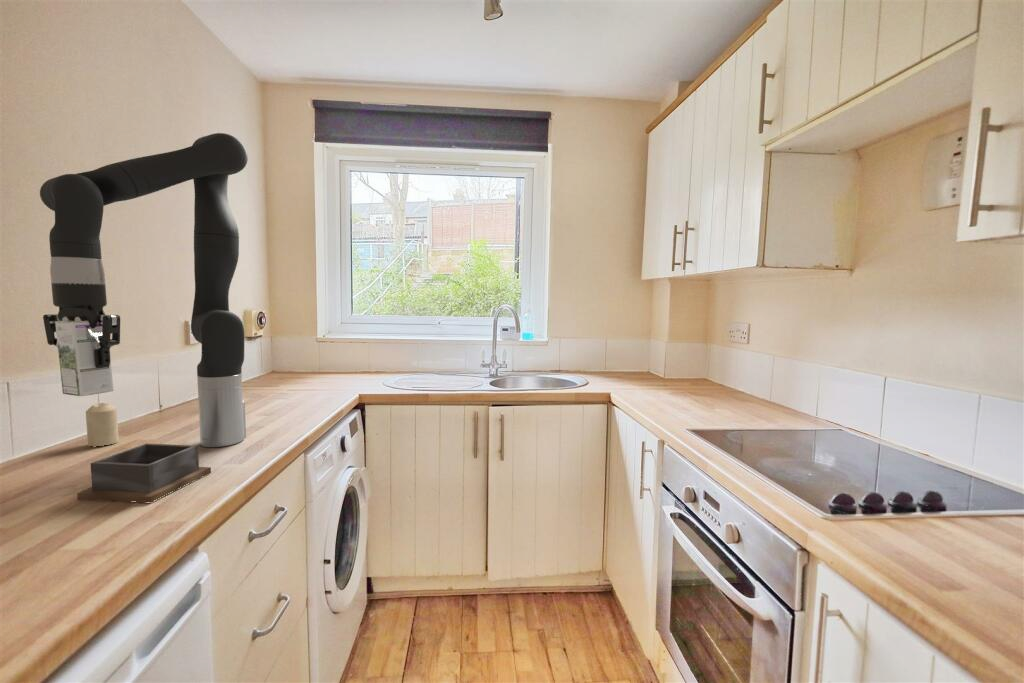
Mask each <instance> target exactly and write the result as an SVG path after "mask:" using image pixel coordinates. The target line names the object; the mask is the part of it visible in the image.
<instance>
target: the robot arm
mask: <svg viewBox="0 0 1024 683" xmlns="http://www.w3.org/2000/svg"><path fill="white" fill-rule="evenodd" d="M248 158H249V156H248V152H247V149H246V147H245V146H244V144H243V143H242V141H240V140H239V139H238V138H237V137H235V136H233V135H231V134H229V133H224V132H223V133H222V132H217V133H211V134H208V135H203V136H201V137H199V138H197V139H195V141H194V142H193V143H192V145H190V146H187V147H184V148H181V149H177V150H172V151H168V152H161V153H156V154H151V155H146V156H145V155H144V156H141V157H140V156H139V157H135V158H131V159H126V160H122V161H118V162H114V163H110V164H106V165H103V166H101V167H98V168H95V169H93V170H88V171H82V172H77V173H65V174H62V175H58V176H55V177H52V178H50V179H48V180H46V181H45V182H44V183H43V184H42V185H41V186H40V190H39V196H40V199H41V201H42V202H43V204H44V205H45V206H46V207H47V208H48V209H49V210H51V211H53V212H54V225H53V227H52V228H51V229H50V231H49V236H48V239H49V251H50V266H49V267H50V268H49V270H50V272H49V273H50V284H51V294H52V297H51V298H52V305H53V306H54V307H58V313H54V314H53V313H51V314H44V315H42V320H43V325H44V326H43V327H44V330H45V331H44V332H45V337H46V341H47V344H48V345H49V346H55V347H56V348H57V349H58V344H57V337H56V336H55V335H56V334H55V333H56V324H55V322H56V321H61V322H68V321H88V322H89V325H90V327H91V328H92V329H94V328H95V327H96V326H97V322H99V324H100V326H101V325H102V332H101V333H93V332H92V331H91V329H90V328H89V327H88V326H86V332H87V333H86V337H87V339H89V340H90V341H91V342H92V344H93V346H94V348H95V349H94V357H95V367H96V368H105V367H109V365H110V362H111V363H112V359H111V348H112V347H113V346H118V345H120V343H121V316H120V315H119V314H106V313H105V311H104V307H107V305H108V301H107V290H106V287H107V286H106V275H105V269H104V268H105V267H104V265H103V260H102V249H101V240H100V239H101V238H100V236H101V230H102V223H103V216H104V206H107V205H110V204H114V203H118V202H123V201H124V202H125V201H128V200H129V201H130V200H133V199H137V198H141V197H143V196H147V195H150V194H153V193H157V192H160V191H162V190H165V189H168V188H170V187H173V186H176V185H179V184H182V183H185V182H188V181H191V180H192V181H193V188H194V210H193V211H194V213H193V214H194V216H193V217H194V218H193V219H194V224H193V225H194V226H193V228H194V229H193V254H194V255H193V257H194V258H193V260H194V261H193V262H194V263H193V264H194V266H193V267H194V269H193V270H194V273H193V274H194V300H193V304H192V305H193V307H192V314H191V319H190V320H191V321H190V331H191V334H192V336H193V338H194V339H195V340H196V341H197V342H198V343H199V344H201V358H200V362H199V363H198V364H197V367H196V377H197V394H198V396H197V399H198V401H197V402H198V421H199V441H200V442H199V443H200V446H201V447H204V448H205V447H206V448H220V447H227V446H232V445H234V444H235V445H236V444H239V443H241V442H242V441H244V439H245V438H246V437H247V428H246V427H247V426H246V425H247V424H246V420H247V419H246V402H245V401H244V400H243V377H242V376H243V374H242V368H243V364H244V361H245V327H244V324H243V321H242V320H241V318H240V317H239V316H238V315H237V314H236V313H234V312H231V311H230V307H229V306H230V305H229V294H230V293H229V292H230V287H231V284H232V281H233V278H234V275H235V271H236V269H237V267H238V262H239V255H240V254H239V253H240V236H239V228H238V225H237V222H236V220H235V218H234V215H233V213H232V212H233V211H232V210H231V207H230V204H229V200H228V184H229V183H228V182H229V181H228V180H229V176H231V175H235V174H238V173H240V172H241V171H244V169H245V168H246V165H247V163H248V160H249V159H248ZM99 337H102V342H100V341H99V339H98V338H99ZM110 359H111V360H110Z"/></svg>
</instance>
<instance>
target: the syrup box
mask: <svg viewBox="0 0 1024 683" xmlns="http://www.w3.org/2000/svg"><path fill="white" fill-rule="evenodd" d="M55 324H56V332H55V333H56V334H55V335H56V338H57V344H58V348H57V352H58V361H59V371H60V381H61V388H62V390H61V391H62V394H63V395H68V396H69V395H70V396H77V397H86V396H87V397H88V396H94V395H101V394H106V393H110V392H114V383H113V382H114V381H113V372H112V359H111V358H110V360H111V362H110V365H109V367H105V368H96V367H95V357H94V349H95V348H94V346H93V344H92V342H91V341H90V340H89V339H87V337H86V333H87V332H86V326H88V327H89V328H90V329H91V331H92V332H93V333H101V332H102V325H101V326H100V324H99V322H97V326H96V327H95V328H94V329H92V328H91V327H90V325H89V322H88V321H68V322H61V321H56V322H55ZM98 339H99V341H100V342H102V337H99V338H98Z"/></svg>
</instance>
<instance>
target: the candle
mask: <svg viewBox="0 0 1024 683" xmlns="http://www.w3.org/2000/svg"><path fill="white" fill-rule="evenodd" d="M117 409H118V408H117V407H116V406H114V405H111V404H110V403H109V404H108V403H104V402H100V403H95V404H93V405H91V406H90V407H89V408H88V409H87V410H86V411H85V420H86V422H85V423H86V435H87V445H88V447H89V446H103V447H105V446H104V445H109V444H113V445H115V444H114V443H116V442H119V426H118V410H117ZM116 444H117V443H116ZM109 446H110V445H109Z"/></svg>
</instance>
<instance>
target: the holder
mask: <svg viewBox="0 0 1024 683" xmlns="http://www.w3.org/2000/svg"><path fill="white" fill-rule="evenodd" d="M199 462H200V461H199V445H191V444H190V445H189V444H188V445H187V444H168V443H167V444H166V443H165V444H164V443H163V444H162V443H144V444H142V445H138V446H135V447H132V448H129V449H127V450H124V451H122V452H117V453H116V454H113V455H109V456H107V457H104V458H101V459H98V460H96V461H93V462H90V478H91V487H88V488H85V489H83V490H81V491H78V492H77V493H76V498H77V499H76V500H81V501H99V502H101V501H102V502H116V501H126V502H125V503H132V502H131V501H136V502H153V501H154V500H156V499H158V498H160V497H162V496H164V495H166V494H168V493H170V492H172V491H174V490H176V489H178V488H180V487H182V486H184V485H186V484H188V483H190V482H192V481H194V480H196V479H198V478H200V477H202V476H204V477H206V476H207V474H208V475H210V474H211V473H212V470H211V468H212V467H210V466H200V463H199ZM209 473H210V474H209ZM205 475H206V476H205ZM202 478H203V477H202ZM200 479H201V478H200ZM198 480H199V479H198ZM196 481H197V480H196ZM194 482H195V481H194ZM192 483H193V482H192ZM190 484H191V483H190ZM188 485H189V484H188ZM186 486H187V485H186ZM184 487H185V486H184ZM182 488H183V487H182ZM180 489H181V488H180ZM178 490H179V489H178ZM176 491H177V490H176ZM174 492H175V491H174ZM172 493H173V492H172ZM153 503H154V502H153Z"/></svg>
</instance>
